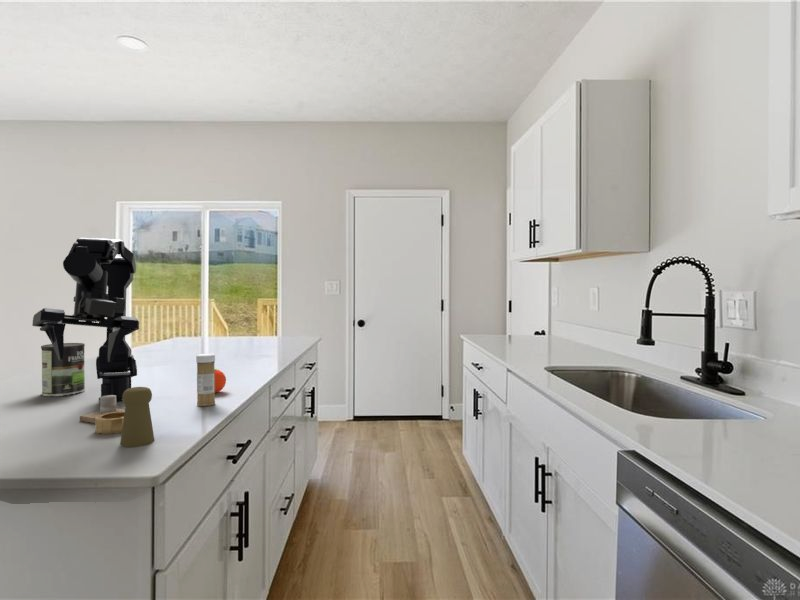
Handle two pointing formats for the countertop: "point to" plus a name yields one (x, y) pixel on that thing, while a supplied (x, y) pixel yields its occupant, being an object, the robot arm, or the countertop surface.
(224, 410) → the countertop surface
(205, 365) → the sprinkles bottle
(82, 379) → the coffee can
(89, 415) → the peg stand
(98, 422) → the ring
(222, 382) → the clementine
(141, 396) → the cork
